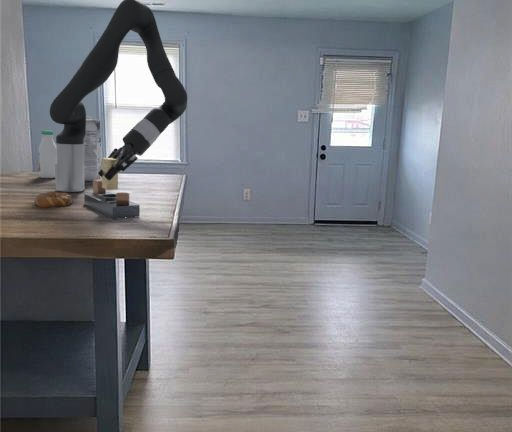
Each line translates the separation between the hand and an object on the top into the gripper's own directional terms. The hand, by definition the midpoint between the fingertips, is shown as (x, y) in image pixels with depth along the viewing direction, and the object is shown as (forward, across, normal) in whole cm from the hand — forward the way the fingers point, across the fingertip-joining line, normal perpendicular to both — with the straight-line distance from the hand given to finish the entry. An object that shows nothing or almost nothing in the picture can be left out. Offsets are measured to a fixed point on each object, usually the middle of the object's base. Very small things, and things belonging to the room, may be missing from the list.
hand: (103, 176), depth 138 cm
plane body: (+6, 0, +9) cm, 11 cm away
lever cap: (+1, 0, +4) cm, 4 cm away
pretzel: (+15, -16, 0) cm, 22 cm away
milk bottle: (+5, -75, +11) cm, 76 cm away
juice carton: (-4, -64, +19) cm, 67 cm away
